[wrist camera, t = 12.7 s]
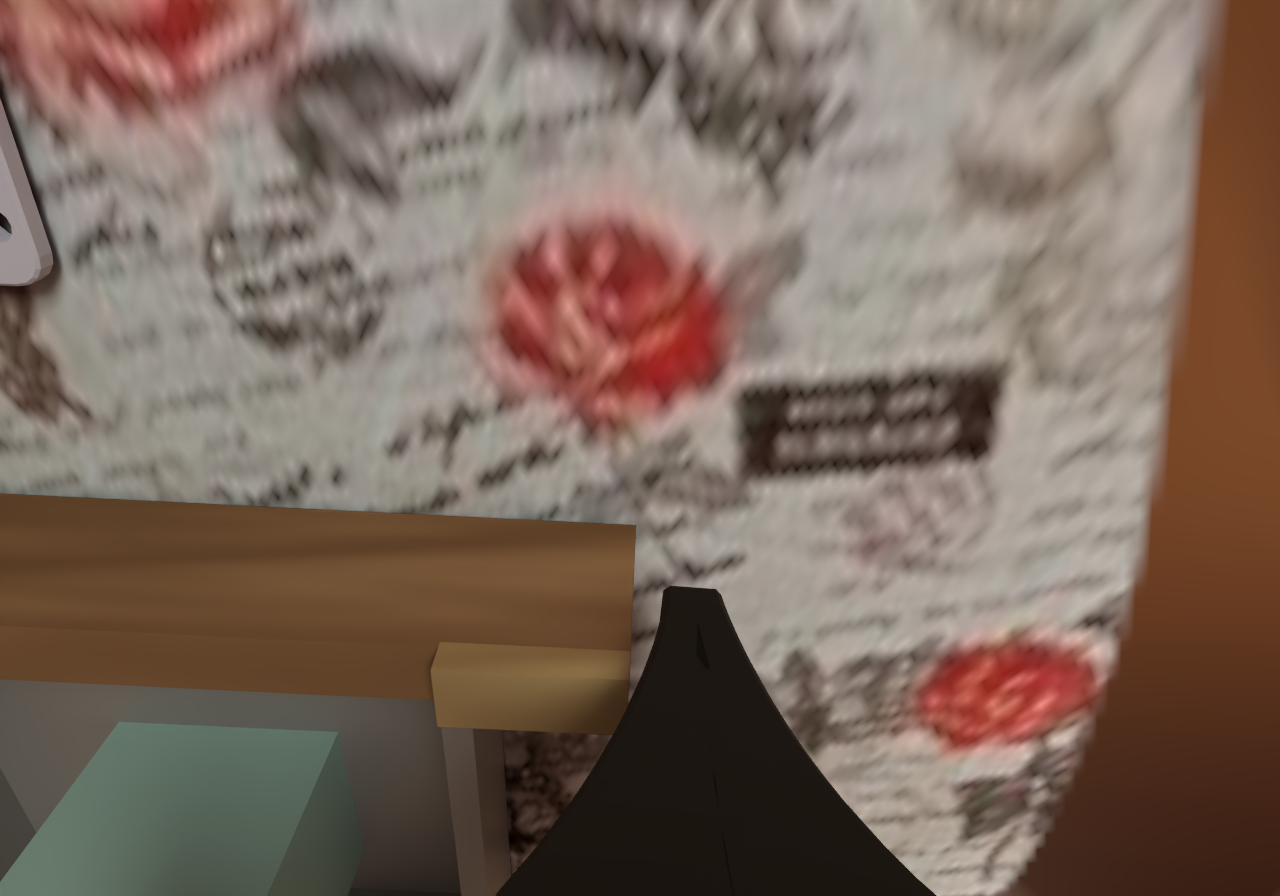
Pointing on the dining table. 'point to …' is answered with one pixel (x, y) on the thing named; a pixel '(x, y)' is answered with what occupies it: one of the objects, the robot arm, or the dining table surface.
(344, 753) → the grey open tray
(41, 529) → the long wooden plank
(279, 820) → the block
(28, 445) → the dining table surface
